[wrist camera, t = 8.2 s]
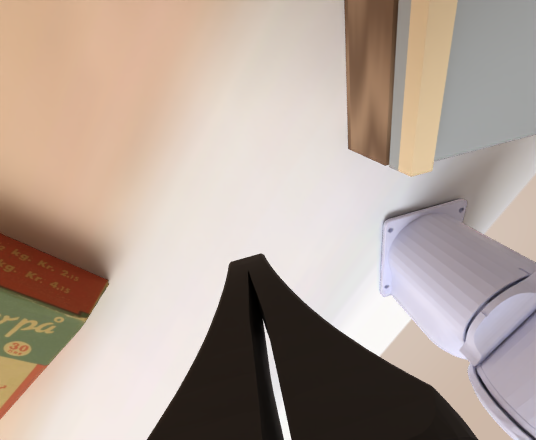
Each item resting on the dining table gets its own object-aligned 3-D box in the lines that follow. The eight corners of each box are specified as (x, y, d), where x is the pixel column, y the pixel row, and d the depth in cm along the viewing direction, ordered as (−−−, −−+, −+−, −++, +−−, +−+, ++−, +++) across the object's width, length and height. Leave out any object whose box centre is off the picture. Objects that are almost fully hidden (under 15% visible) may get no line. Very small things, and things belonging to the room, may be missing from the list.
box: (492, 112, 19) (563, 119, 16) (348, 148, 18) (385, 165, 15) (565, -186, 12) (726, -308, 9) (340, -153, 11) (407, -276, 8)
